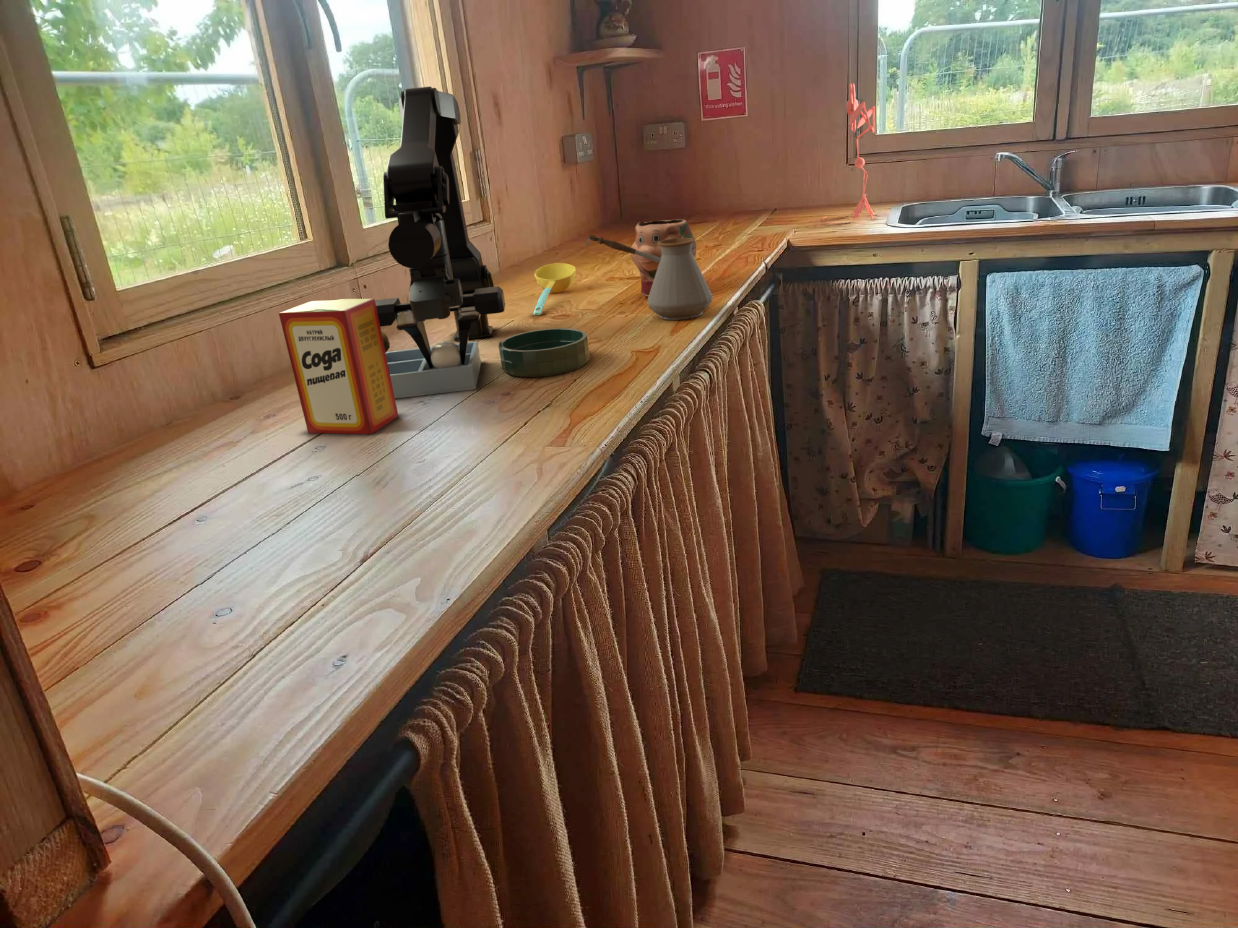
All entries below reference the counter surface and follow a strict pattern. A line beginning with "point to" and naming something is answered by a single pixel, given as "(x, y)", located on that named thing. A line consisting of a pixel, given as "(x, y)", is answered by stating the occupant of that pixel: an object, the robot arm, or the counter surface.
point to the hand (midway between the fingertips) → (447, 365)
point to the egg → (445, 355)
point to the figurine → (854, 112)
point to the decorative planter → (656, 246)
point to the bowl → (544, 352)
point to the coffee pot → (673, 279)
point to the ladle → (553, 281)
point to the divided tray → (431, 373)
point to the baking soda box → (340, 365)
